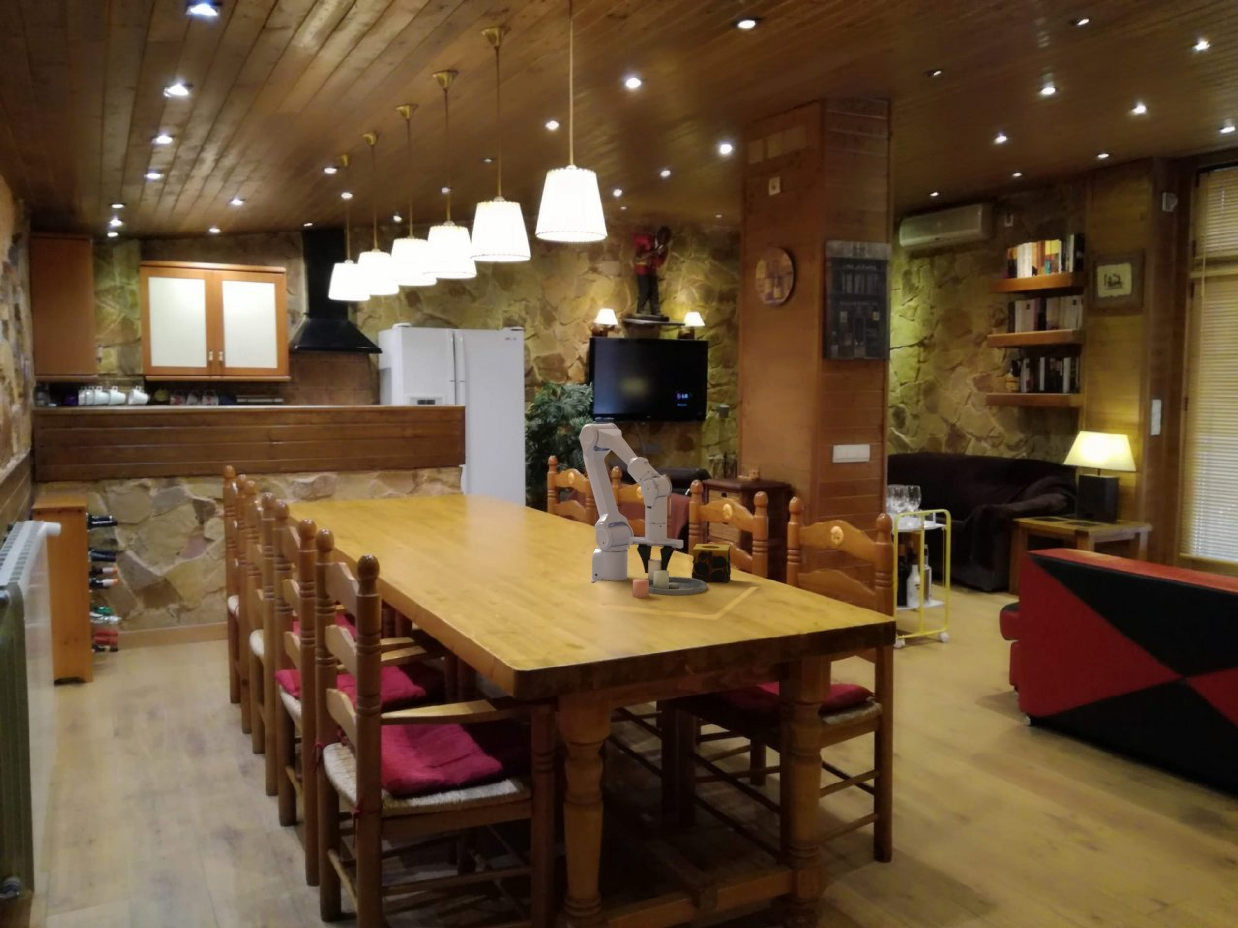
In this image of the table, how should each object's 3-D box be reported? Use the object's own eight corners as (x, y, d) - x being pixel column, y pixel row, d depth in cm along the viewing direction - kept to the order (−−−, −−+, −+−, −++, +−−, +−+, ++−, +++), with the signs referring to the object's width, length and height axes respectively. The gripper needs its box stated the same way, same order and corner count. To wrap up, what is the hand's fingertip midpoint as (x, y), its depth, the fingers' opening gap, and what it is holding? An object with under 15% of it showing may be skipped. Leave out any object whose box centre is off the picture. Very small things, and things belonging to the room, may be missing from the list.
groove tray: (629, 594, 245) (629, 586, 245) (652, 582, 262) (652, 574, 261) (694, 601, 239) (694, 592, 239) (713, 587, 255) (713, 579, 255)
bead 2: (646, 577, 253) (646, 559, 253) (661, 577, 254) (661, 558, 253) (649, 580, 249) (649, 561, 249) (664, 580, 250) (664, 561, 250)
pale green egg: (651, 591, 245) (651, 572, 245) (656, 588, 249) (656, 569, 249) (665, 592, 244) (666, 573, 244) (670, 589, 248) (671, 570, 247)
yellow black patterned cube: (728, 587, 257) (728, 550, 256) (691, 585, 259) (691, 549, 258) (731, 579, 267) (732, 544, 266) (695, 578, 269) (696, 543, 268)
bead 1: (630, 601, 239) (630, 581, 238) (636, 597, 242) (636, 578, 242) (645, 602, 237) (645, 582, 237) (650, 599, 241) (651, 579, 240)
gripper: (625, 522, 250) (624, 573, 251) (677, 525, 244) (676, 578, 245) (634, 519, 256) (634, 569, 257) (685, 522, 251) (685, 573, 252)
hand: (655, 573), depth 252 cm, fingers closed on bead 2, 4 cm apart
